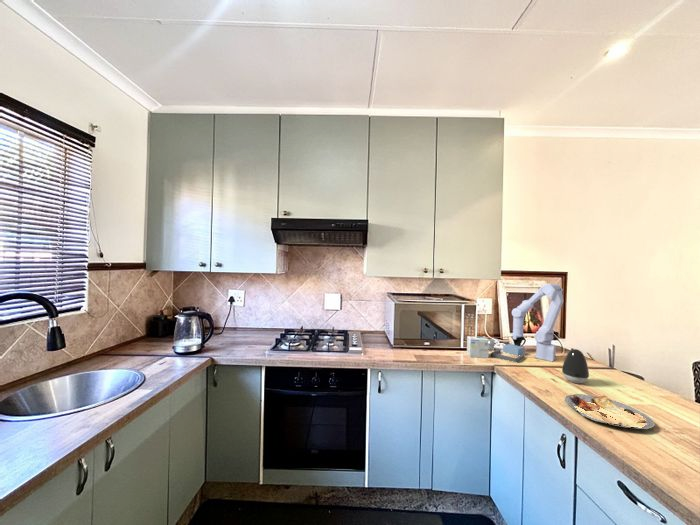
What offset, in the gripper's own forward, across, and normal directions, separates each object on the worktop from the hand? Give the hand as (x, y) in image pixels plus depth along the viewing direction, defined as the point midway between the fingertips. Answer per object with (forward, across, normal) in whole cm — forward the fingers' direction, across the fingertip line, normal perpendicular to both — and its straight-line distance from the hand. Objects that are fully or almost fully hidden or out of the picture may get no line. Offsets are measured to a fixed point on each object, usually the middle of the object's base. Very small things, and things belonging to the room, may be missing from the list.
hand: (517, 348), depth 194 cm
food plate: (+2, +66, +48) cm, 81 cm away
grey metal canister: (+1, +10, -13) cm, 17 cm away
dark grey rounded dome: (+1, +35, +34) cm, 49 cm away
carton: (+2, +8, 0) cm, 8 cm away
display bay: (+1, +20, 0) cm, 20 cm away
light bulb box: (+2, +31, -13) cm, 34 cm away
